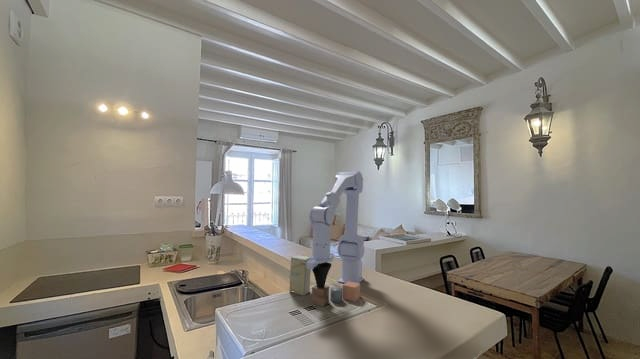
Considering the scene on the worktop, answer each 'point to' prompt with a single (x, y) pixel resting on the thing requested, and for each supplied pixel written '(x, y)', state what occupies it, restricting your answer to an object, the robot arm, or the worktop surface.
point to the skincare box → (300, 275)
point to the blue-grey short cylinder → (336, 294)
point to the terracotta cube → (351, 291)
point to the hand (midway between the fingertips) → (320, 286)
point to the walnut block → (320, 295)
